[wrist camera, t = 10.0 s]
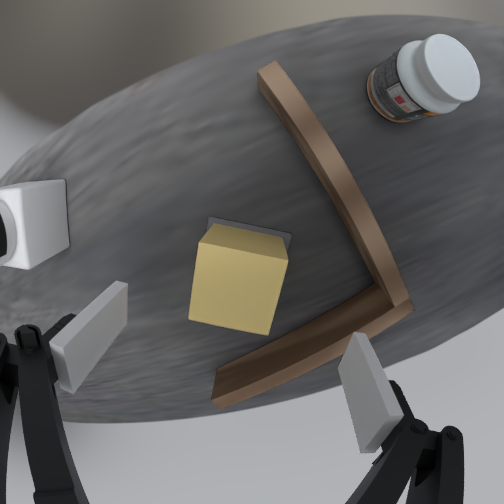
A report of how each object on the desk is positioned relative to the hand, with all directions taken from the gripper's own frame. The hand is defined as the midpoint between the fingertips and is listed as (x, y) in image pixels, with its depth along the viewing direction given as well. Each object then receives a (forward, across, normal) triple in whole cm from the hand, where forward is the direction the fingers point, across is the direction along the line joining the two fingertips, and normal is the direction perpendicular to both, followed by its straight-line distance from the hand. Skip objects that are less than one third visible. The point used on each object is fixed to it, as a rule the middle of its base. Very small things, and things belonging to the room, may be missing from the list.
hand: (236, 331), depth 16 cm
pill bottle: (+11, +9, +18) cm, 24 cm away
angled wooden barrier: (+11, -1, +1) cm, 11 cm away
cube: (+11, -1, 0) cm, 11 cm away
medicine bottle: (+11, -22, +1) cm, 25 cm away
